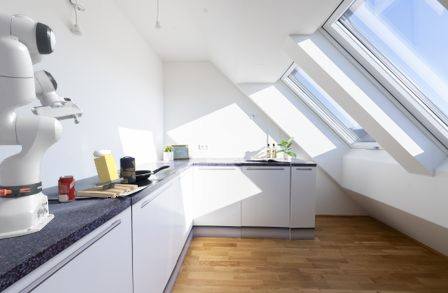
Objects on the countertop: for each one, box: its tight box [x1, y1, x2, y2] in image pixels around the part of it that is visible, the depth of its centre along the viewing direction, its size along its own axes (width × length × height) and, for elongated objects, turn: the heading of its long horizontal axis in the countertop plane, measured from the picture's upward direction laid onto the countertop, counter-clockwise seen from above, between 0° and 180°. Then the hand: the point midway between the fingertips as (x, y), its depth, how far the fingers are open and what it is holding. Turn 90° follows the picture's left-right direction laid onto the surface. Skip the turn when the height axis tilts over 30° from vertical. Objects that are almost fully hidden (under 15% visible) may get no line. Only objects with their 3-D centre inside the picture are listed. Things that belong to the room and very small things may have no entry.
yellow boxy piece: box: [92, 149, 123, 187], centre depth 132 cm, size 10×10×19 cm
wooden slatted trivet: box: [75, 182, 139, 199], centre depth 132 cm, size 22×22×4 cm
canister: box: [119, 155, 137, 184], centre depth 157 cm, size 10×10×18 cm
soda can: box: [57, 175, 76, 204], centre depth 113 cm, size 7×7×12 cm
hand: (68, 124), depth 118 cm, fingers open, 8 cm apart
